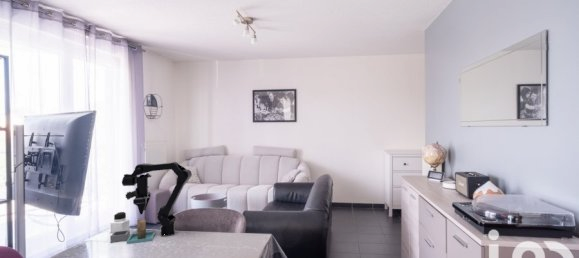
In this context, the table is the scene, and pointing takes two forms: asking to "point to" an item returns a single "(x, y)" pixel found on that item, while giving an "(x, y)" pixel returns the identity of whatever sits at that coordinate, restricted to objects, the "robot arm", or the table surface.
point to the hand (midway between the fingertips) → (142, 212)
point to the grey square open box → (120, 236)
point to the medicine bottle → (119, 222)
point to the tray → (134, 239)
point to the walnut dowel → (141, 229)
